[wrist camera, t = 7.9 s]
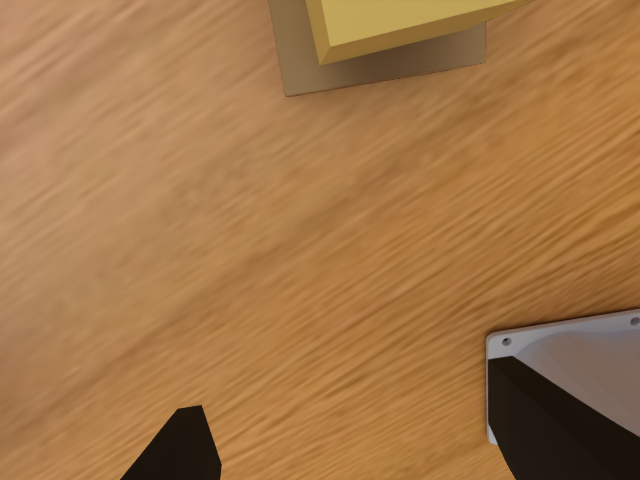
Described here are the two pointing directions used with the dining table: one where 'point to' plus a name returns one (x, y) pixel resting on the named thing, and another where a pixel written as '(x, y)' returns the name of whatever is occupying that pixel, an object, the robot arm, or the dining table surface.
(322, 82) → the walnut base
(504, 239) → the dining table surface
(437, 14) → the mustard brick
